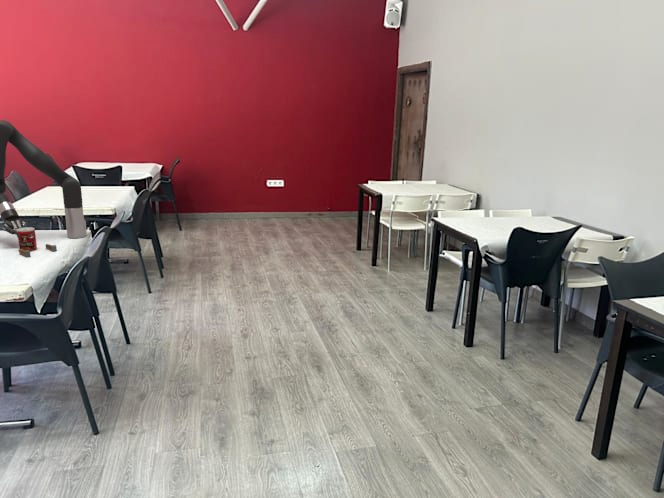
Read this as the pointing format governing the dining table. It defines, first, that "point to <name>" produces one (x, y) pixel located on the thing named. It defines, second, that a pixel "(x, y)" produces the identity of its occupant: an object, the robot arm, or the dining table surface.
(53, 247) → the posts
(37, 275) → the dining table surface
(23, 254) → the channel walls
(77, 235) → the robot arm
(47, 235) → the dining table surface
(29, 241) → the canned food
